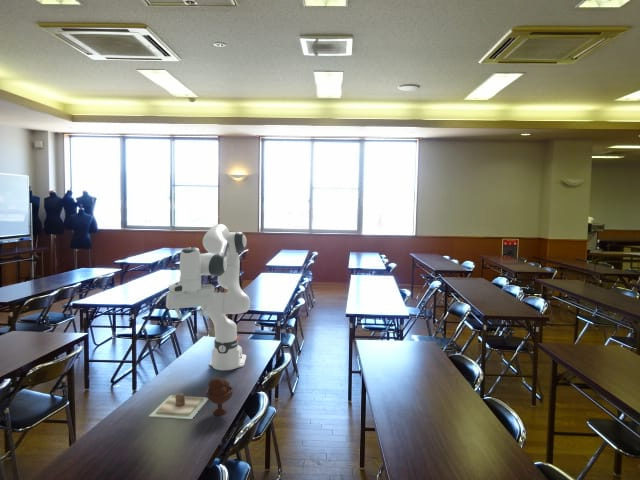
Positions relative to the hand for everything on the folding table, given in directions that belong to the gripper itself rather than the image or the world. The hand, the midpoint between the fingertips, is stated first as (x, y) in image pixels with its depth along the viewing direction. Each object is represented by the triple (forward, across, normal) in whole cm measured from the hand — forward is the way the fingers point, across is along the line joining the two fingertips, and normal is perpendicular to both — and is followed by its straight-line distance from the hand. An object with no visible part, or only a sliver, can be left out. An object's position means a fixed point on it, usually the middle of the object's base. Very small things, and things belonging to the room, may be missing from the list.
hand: (191, 317), depth 181 cm
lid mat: (+37, +6, +5) cm, 38 cm away
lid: (+36, +6, +5) cm, 37 cm away
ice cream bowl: (+37, -7, +18) cm, 42 cm away
